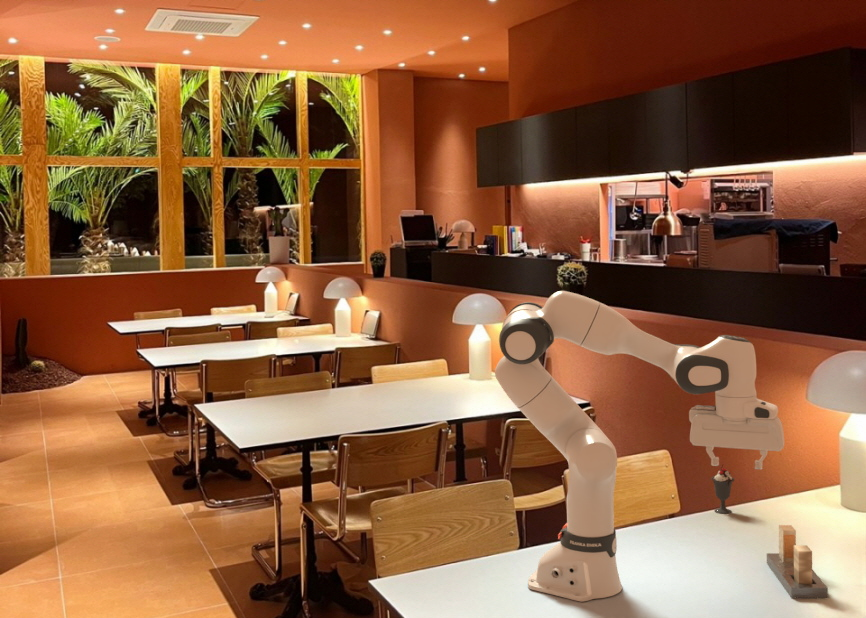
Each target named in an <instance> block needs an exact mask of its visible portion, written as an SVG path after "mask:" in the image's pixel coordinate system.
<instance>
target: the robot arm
mask: <svg viewBox="0 0 866 618" xmlns="http://www.w3.org/2000/svg"><path fill="white" fill-rule="evenodd" d="M555 339H562V340H565V341H568V342H570V343H572V344H575V345H577V346H579V347H582V348H583V349H585V350H588V351H591V352H595V353H596V354H597V353H598V354H601V355H605V356H612V355H617V354H625V355H630V356H632V357H633V356H634V357H636V358H637V359H640V360H643V361H645V362H647V363H649V364H651V365H654V366H656V367H659V368H661V369H662V370H664V372H666V373H667V374H668V375H669V377H670V378H671V379H672V380H673V381H674V382H675V383H676V384H677V385H678V387H679V388H680V389H682V390H683V391H684V392H686V393H688V394H690V395H691V394H692V395H704V394H710V393H714V394H715V395H714V397H715V405H701V404H696V405H695V406H693V407H691V408H690V409H689V411H688V419H689V422H690V423H691V426H690V430H689V431H690V433H689V442H690V443H691V445H692V446H696V447H697V446H698V447H699V446H700V447H705V451H706V453H707V455H708V457H709V459H710V465H711V466H713V467H714V466H715V467H718V466H719V465H720V457H719V456H716V455H715V453H714V451H713V450H714V448H723V449H724V448H726V449H740V450H741V449H742V450H755V451H759V455H760V456H761V457H760V459H755V460H754V469H755V470H763V461H764V460H765V459H766V457H767V455H768V453H769V452H780V451H782V450H783V449H784V448H785V433H784V427H783V422H782V420H781V419H780V418H779V417H778V413H779V408H778V405H777V404H774V403H772V402H771V403H770V402H768V401H764V400H762V399H759V398H758V397H757V396H758V395H757V394H758V393H757V390H756V384H755V383H756V378H757V357H756V356H757V355H756V350H755V346H754V345H753V343H752V342H751V341H750V340H748V339H747V338H744V337H741V336H736V335H730V334H722V335H719V336H718V337H716V339H714V340H713V341H710V343H708V344H705V345H704V346H699V345H694V344H689V343H687V344H685V343H684V344H676V343H672V342H669V341H666V340H664V339H662V338H660V337H658V336H655V335H653V334H650V333H648V332H646V331H644V330H642V329H640V328H639V327H637V326H636V325H635V324H634V323H632V322H631V321H630V320H629V319H628V318H627V317H625V315H623V314H621V313H620V312H618V311H617V310H616V309H614V308H612V307H611V306H608V305H606V304H605V303H602V302H600V301H598V300H595V299H593V298H589V296H588V297H587V296H585V295H581V294H579V293H576V292H575V293H574V292H572V291H571V292H570V291H567V290H559V291H556V292H554V293H553V294H551V295H550V296H549V297H548V298H547V300H546V301H545V303H544V305H543V306H541V305H540V304H538V303H535V302H530V301H528V302H527V301H526V302H525V301H524V302H522V303H519V304H517V305H516V306H514V307H512V309H510V311H509V313H508V314H507V315H506V317H505V319H504V321H503V323H502V326H501V331H500V332H499V338H498V342H499V343H498V344H499V349H500V350H501V353H502V354H503V356H502V357H501V358H500V359H499V360H498V362H497V364H496V366H495V368H494V369H495V370H494V375H495V376H494V377H495V378H496V380H497V382H498V383H499V385H500V386H501V388H502V390H503V392H504V393H505V394H506V396H507V397H508V398H509V399H510V400H511V402H512V403H513V404H514V405H515V406H516V407H517V409H518V410H520V412H521V413H522V414H523V415H524V416H525V418H527V420H528V421H529V422H530V423H531V424H532V425H533V426H534V427H535V429H536V430H538V431H539V433H541V434H542V435H543V436H544V437H545V438H546V439H547V441H549V442H550V444H552V445H553V446H554V447H555V448H556V450H557V451H559V453H561V454H562V456H563V457H564V458H565V459H566V461H567V463H568V485H567V494H566V523H565V524H564V525H563V526H562V529H561V530H560V531H559V533H558V534H557V537H558V538H557V540H559V541H560V542H558V543H557V544H556V545H554V546H553V547H551V548H550V549H548V550H547V551H546V552H545V553H544V554H543V555H542V556H541V557H540V559H539V561H538V563H537V564H538V565H537V569H536V570H535V571H533V573H532V574H531V575H530V576H529V577H528V581H527V587H528V589H530V590H532V591H535V592H540V593H544V594H548V595H552V596H553V595H554V596H557V597H561V598H565V599H568V600H572V601H576V602H577V601H578V602H588V601H591V600H594V599H596V600H597V599H604V598H610V597H613V596H615V595H617V594H619V593H620V592H621V591H622V589H623V585H622V582H621V579H620V575H619V571H618V565H617V558H616V554H617V546H618V545H617V540H618V539H617V536H616V535H617V533H616V532H617V531H616V529H615V528H614V527H615V525H614V524H615V523H614V521H615V519H614V518H615V517H614V497H615V496H614V495H615V493H614V492H615V486H616V477H617V466H618V454H617V449H616V446H615V445H614V444H613V442H612V441H611V439H609V438H608V436H607V435H606V434H605V433H604V432H603V430H602V429H601V428H600V427H599V426H598V425H597V424H596V422H594V421H593V419H592V418H590V416H589V415H588V414H587V412H585V411H584V410H583V409H582V408H581V407H580V406H579V404H578V403H577V402H576V401H575V400H574V399H573V398H572V397H571V396H570V394H569V393H568V392H567V391H566V390H565V389H564V388H563V386H561V384H560V383H558V382H557V380H556V379H555V378H554V377H553V376H552V375H551V374H550V373H549V372H548V370H546V369H545V367H544V366H543V364H542V363H541V361H540V359H539V358H540V357H541V356H543V354H544V353H545V351H547V349H549V348H550V346H552V344H553V343H554V341H555ZM768 451H769V452H768Z"/></svg>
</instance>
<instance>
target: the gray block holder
mask: <svg viewBox="0 0 866 618" xmlns="http://www.w3.org/2000/svg"><path fill="white" fill-rule="evenodd" d="M794 545H797V530H796V529H795V527H793V526H792V525H791V524H790V525H789V524H787V525H785V524H779V525H778V553H776V552H775V553H771V552H770V553H769V552H768V553H766V564H767V565H768V567H769V568H770V570H771V571H772V572H773V574H774V576H775V577H776V579H777V580H778V581H779V583H780V584H781V586H782V587H783V588H784V590H785V591H786V593H787V594H788V596H789V595H790V596H789V597H790V598H791V599H817V598H828V599H829V597H828V595H829V588H828V586H827V585H826V584H825V583H824V582H823V580H822V579H821V578H820V577H819V575H818V574H817V573H816V572H815V570H814V569H813V568H812V584H796V583H795V581H794Z"/></svg>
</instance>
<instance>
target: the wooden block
mask: <svg viewBox="0 0 866 618" xmlns="http://www.w3.org/2000/svg"><path fill="white" fill-rule="evenodd" d="M812 569H813V551H812V550H811V548H810V547H809V546H808V545H803V544H802V545H797V544H796V545H794V581H795V583H796V584H812Z"/></svg>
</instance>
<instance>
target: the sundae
mask: <svg viewBox="0 0 866 618" xmlns="http://www.w3.org/2000/svg"><path fill="white" fill-rule="evenodd" d="M710 479H711V480H712V482H713V486H714V492H715V496H716V497H717V499H719V500H720V507H718V508H715V509H714V513H717V512H718V513H717V514H719V515H720V514H721V515H723V514H724V515H727V514H731V513H732V510H731V509H729V508H727V507H726V500H728V499H729V498H730V497H731V491H732V489H731V488H732V486H733V485H732V483H733V482H734V481H735V477H734V476H731V472H730V471H728V470H727V468H726V467H724V464H723V463H722V464H721V467H720V470H718V471H717V473H716V475H713V476H712V477H710ZM717 510H718V511H717Z"/></svg>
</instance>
